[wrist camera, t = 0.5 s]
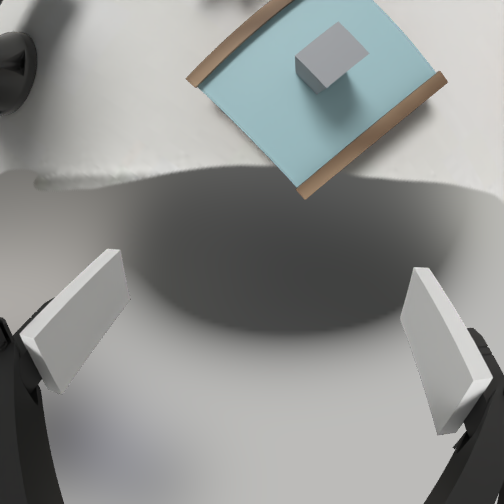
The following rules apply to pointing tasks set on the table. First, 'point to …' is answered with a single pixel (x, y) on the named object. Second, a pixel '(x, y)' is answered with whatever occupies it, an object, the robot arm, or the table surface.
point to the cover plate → (294, 103)
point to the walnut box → (357, 145)
